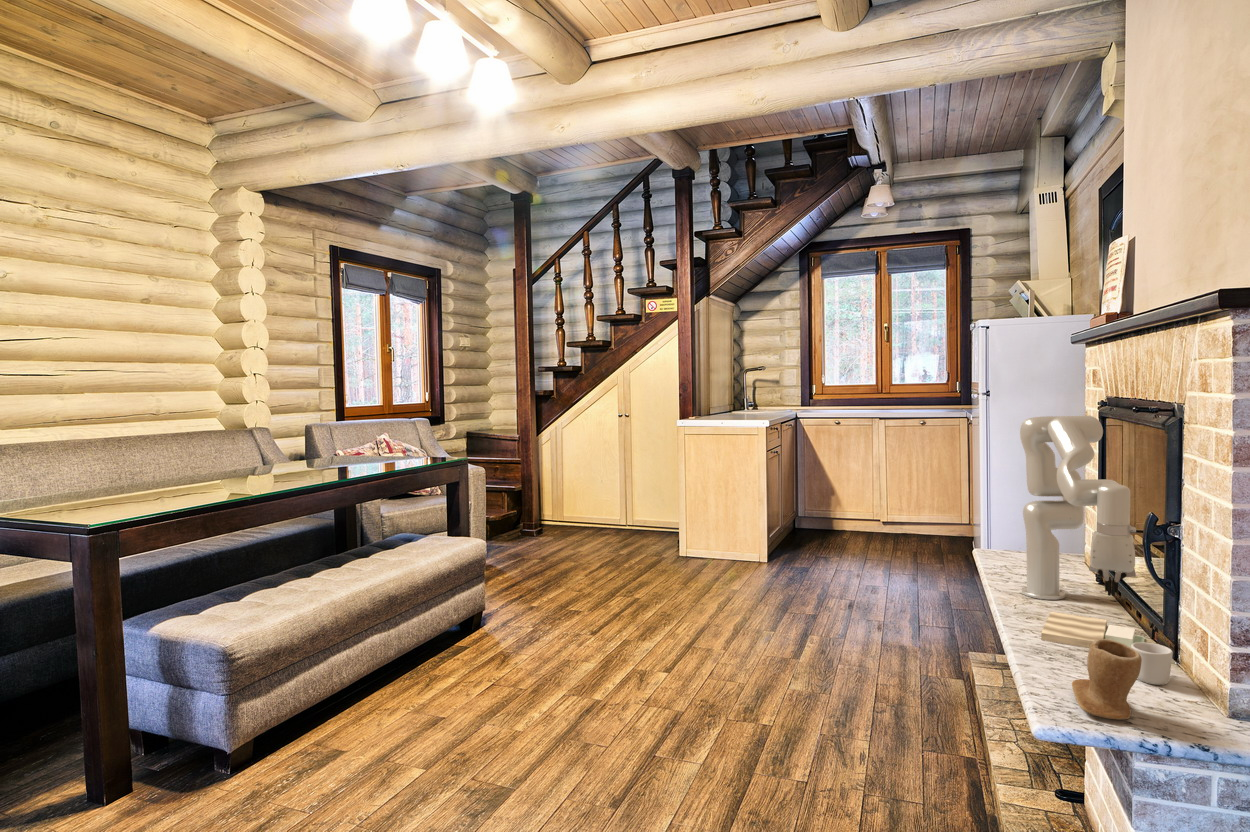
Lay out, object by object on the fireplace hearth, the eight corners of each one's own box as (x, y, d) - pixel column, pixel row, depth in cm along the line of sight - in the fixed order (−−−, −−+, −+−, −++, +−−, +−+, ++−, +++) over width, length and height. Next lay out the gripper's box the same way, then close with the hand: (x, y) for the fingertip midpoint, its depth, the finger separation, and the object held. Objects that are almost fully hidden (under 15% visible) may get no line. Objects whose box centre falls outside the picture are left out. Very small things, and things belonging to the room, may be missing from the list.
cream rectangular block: (1108, 631, 201) (1109, 624, 201) (1135, 635, 197) (1135, 628, 197) (1105, 642, 193) (1105, 634, 193) (1132, 646, 189) (1132, 639, 189)
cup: (1137, 668, 177) (1137, 636, 177) (1177, 676, 171) (1177, 644, 171) (1127, 681, 169) (1127, 648, 169) (1169, 691, 164) (1169, 656, 163)
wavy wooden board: (1051, 618, 215) (1051, 611, 215) (1106, 626, 206) (1106, 619, 206) (1041, 639, 197) (1041, 632, 197) (1101, 650, 189) (1101, 642, 189)
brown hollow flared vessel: (1146, 729, 147) (1146, 657, 146) (1078, 718, 152) (1078, 649, 151) (1133, 699, 160) (1133, 634, 159) (1070, 690, 165) (1070, 627, 165)
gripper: (1146, 529, 194) (1145, 595, 195) (1081, 523, 203) (1080, 586, 204) (1146, 535, 188) (1144, 603, 189) (1079, 529, 197) (1078, 593, 198)
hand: (1111, 594), depth 197 cm, fingers closed
